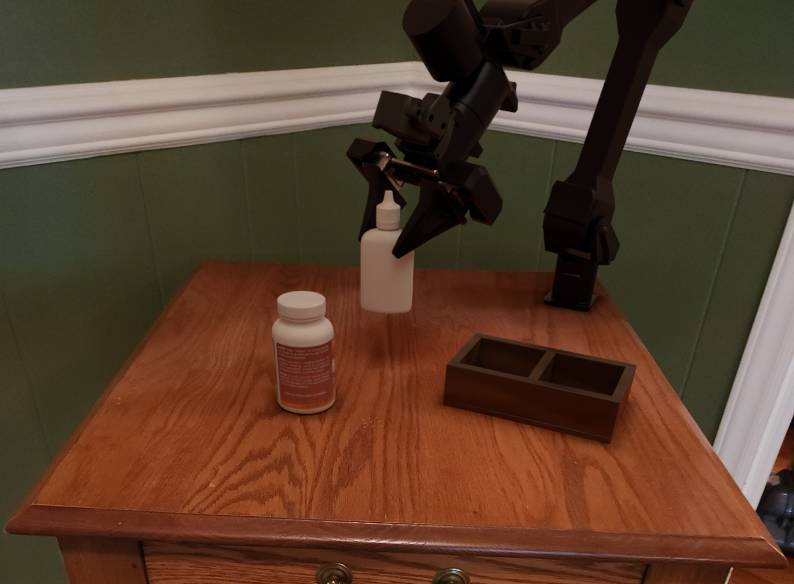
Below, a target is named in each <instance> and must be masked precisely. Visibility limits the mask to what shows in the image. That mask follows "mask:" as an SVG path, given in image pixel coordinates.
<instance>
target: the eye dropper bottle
mask: <svg viewBox="0 0 794 584" xmlns="http://www.w3.org/2000/svg"><path fill="white" fill-rule="evenodd" d="M376 226H377V228H375V229H371V230H369V231H367V232H366V233H365V234H364V235H363V237H362V239H361V243H360V307H361V309H362V310H364V311H367V312H371V313H377V314H387V315H397V314H398V315H399V314H405V313H408V312H410V311H411V309H412V306H413V293H414V291H413V289H414V272H415V271H414V270H415V269H414V268H415V249H414V250H413V251H411V252H410V253H408V254H406V255H405V256H403V257H401V258H400V259H397V258H395V257H394V256H393V254H392V250H393V247H394V245H395V243H396V241H397V239H398V237H399V235H400V234H401V232H402V230H403V229H401V228H400V227H401V211H400V206H399V205H398V204H396V203H395V202H394V200H393V193H392V191H385V196H384V200H383V202H382V203H381V204H378V205H377V210H376Z"/></svg>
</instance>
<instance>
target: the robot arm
mask: <svg viewBox="0 0 794 584" xmlns="http://www.w3.org/2000/svg"><path fill="white" fill-rule="evenodd" d="M598 1H599V0H487V1H486V2H485V3H484V4H483V5H481V8H480V9H479V10H478V7H477V6H476V4H475V2H474V0H411V1H410V2H409V4H408V5H407V6H406V9H405V11H404V12H403V16H402V20H401V26H402V30H403V32H404V34H405V35H406V37H407V38H408V40H409V42H410V43H411V45H412V47H413V48H414V50H415V52H416V53H417V55H418V57H419V58H420V60H421V62H422V63H423V65H424V67H425V69H426V70H427V71H428V73H429V75H430V77H431V78H432V80H433V81H435V82H437V83H447V84H446V86H445V87H444V89H443V91H442V93H441V94H439V93H434V92H426V93H425V94H424V95H423V97H422V98H420V97H415V96H412V95H409V94H406V93H400V92H395V91H390V90H386V89H385V90H384V89H382V90H381V92H380V93H379V98H378V101H377V104H376V108H375V111H374V114H373V117H372V121H371V123H370V124H371V127H372V128H374V129H375V130H382V131H384V132H385V133H387V134H388V135H391V136H392V137H394V138H396V139H395V140H394V142H393V145H394V146H395V148H396V149H397V150H398V152H400V153H402V154H403V158H402V159H403V160H402V159H399V158H398V156H396V154H395V152H394V151H393V150H392V149H391V147H390V146H389V144H388V143H387V142H386V141H385V140H383V139H378V138H374V137H370V136H365V135H364V136H363V135H362V136H356V137H354V139H353V141H352V143H351V144H350V145H349V147H348V149H347V150H346V152H345V156H346V157H347V158H348V160H349V161H350V162H351V163H352V165H353V166H354V167H355V169H356V170H357V171H358V172H359V174H361V176H362V177H363V178H364V179H365V181H366V182H367V184H368V193H367V199H366V204H365V208H364V212H363V217H362V221H361V225H360V229H359V233H358V236H357V240H358V242H359V243H360V244H361V239H362V237H363V235H364V234H365V233H366V232H367V231H369V230H371V229H375V228H377V226H376V210H377V205H378V204H381V203H382V202H383V200H384V196H385V191H392V193H393V200H394V202H395V203H396V204H398V205H399V206H400V212H401V211H402V210H403V209H404V208H405V207H406V206H407V205H408V201H406V199H405V198H404V197H403V196H402V194H401V193H400V191H402V188H403V187H404V185H405V184H408V185H412V186H414V187H419V193H418V194H419V195H418V202H417V204H416V205H415V207H414V209H413V211H412V213H411V214H410V216H409V218H408V220H407V221H406V224H404V227H403V228H402V229H401V230H402V232H401V234H400V235H399V237H398V239H397V241H396V243H395V245H394V247H393V250H392V254H393V256H394V257H395V258H397V259H400V258H401V257H403V256H405V255H406V254H408V253H410V252H411V251H413V250H414V251H415V250H416V249H417V248H419V247H421V246H423V245H424V244H426V243H427V242H429V241H431V240H433V239H434V238H436V237H438V236H439V235H441V234H443V233H445V232H448V231H449V230H451V229H453V228H455V227H457V226H459V225H460V226H465V225H466V224H467V223H468V219H467V217H466V215H467V213H468V212H469V217H470V219H471V220H472V221H473V222H476V223H479V224H482V225H485V226H489V227H492V226H493V225H494V223H495V222H496V220H497V219H498V217H499V216H500V214H501V213H502V211H503V205H504V196H503V194H502V193H501V191H500V190H499V187H498V186H497V185H496V182H495V181H494V179H493V178H492V176H491V175H490V173H489V171H488V169H487V168H486V166H485V165H481V164H476V163H473V162H469V161H468V160H469V159H470V158H474V159H479V158H480V157H481V155H482V154H483V152H484V148H483V146H482V145H481V143H480V141H481V140H482V138H483V137H484V135H485V133H486V131H487V130H488V129H489V127H490V126H491V124H492V122H493V121H494V119H495V117H496V116H497V114H498V113H499V111H502V112H506V113H507V112H508V113H511V114H515V113H517V112H518V110H519V98H518V96H517V94H518V93H517V87H518V84H517V82H516V81H511V80H510V79H509V78H508V76H507V73H506V71H505V70H504V68H506V69H514V70H522V71H527V72H532V71H534V70H536V69H538V68H539V67H540V66H541V65H543V63H544V62H545V61H546V60H548V58H549V57H550V56H551V55H552V54H553V52H554V51H555V50H556V49H557V48H558V46H559V45H560V44H561V41H562V36H563V31H564V29H565V28H567V26H568V25H569V24H570V23H571V22H572V21H574V20H575V19H576V18H577V17H579V16H580V15H581V14H583V13H584V12H585V11H587V10H588V9H590V7H592V6H593V5H594V4H596V3H597V2H598ZM694 2H695V0H616V3H615V8H614V16H615V23H616V31H617V37H618V38H617V43H616V46H615V49H614V52H613V55H612V58H611V61H610V64H609V67H608V70H607V73H606V75H605V78H604V82H603V84H602V87H601V91H600V94H599V97H598V100H597V103H596V106H595V109H594V111H593V114H592V117H591V121H590V123H589V127H588V129H587V132H586V136H585V138H584V140H583V144H582V147H581V149H580V152H579V156H578V159H577V162H576V165H575V168H574V169H573V171H572V172H571V173H570V174H569V175H568V176H567V177H566V178H565V179H564V180H558V179H557V180H555V181H554V183H553V184H552V186H551V189H550V194H549V197H548V201H547V203H546V205H545V207H544V209H543V210H542V214H544V215H543V218H542V230H543V245H544V251H545V252H547V253H549V252H550V253H552V254H556V255H557V257H556V264H555V268H554V269H555V270H554V275H553V281H552V287H551V289H550V291H548V293H547V294H546V295H545V297H544V298H543V303H544V304H549V305H553V306H560V307H565V308H571V309H576V310H582V311H590V310H591V308H592V307H593V306H594V304H595V302H596V301H597V300H598V298H599V293H597V292H594V291H595V286H596V281H597V277H598V276H597V275H598V272H599V267H600V266H610V265H611V262H614V261H615V259H616V257H617V254H618V252H619V250H620V247H621V242H620V240H619V238H618V235H617V234H616V232H615V229H614V227H613V225H612V221H613V217H614V214H615V211H616V201H615V193H614V192H615V191H614V186H613V179H614V176H615V173H616V172H617V171H616V170H617V168H618V165H619V162H620V160H621V157H622V154H623V151H624V149H625V146H626V143H627V141H628V138H629V134H630V132H631V128H632V126H633V124H634V121H635V118H636V115H637V112H638V109H639V107H640V104H641V101H642V98H643V95H644V93H645V90H646V87H647V85H648V82H649V79H650V76H651V74H652V71H653V67H654V65H655V62H656V59H657V56H658V54H659V52H660V51H661V49H663V47H664V46H665V45H666V44H667V43H668V42H670V40H671V39H673V37H674V36H676V34H677V33H678V32H679V31H680V30H681V28H682V27H683V25H684V22H685V21H686V18H687V16H688V14H689V12H690V9H691V7H692V5H693V4H694Z"/></svg>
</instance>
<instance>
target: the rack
mask: <svg viewBox="0 0 794 584" xmlns="http://www.w3.org/2000/svg"><path fill="white" fill-rule="evenodd" d="M636 370H637V364H633V363H629V362H624V361H618V360H614V359H609V358H603V357H599V356H595V355H588V354H584V353H580V352H575V351H569V350H564V349H559V348H554V347H549V346H544V345H540V344H534V343H529V342H525V341H521V340H520V341H519V340H514V339H509V338H504V337H500V336H495V335H490V334H484V333H479V332H475V333H474V334H473V335H472V337H470V338H469V339H468V340H467V342H466V343H465V344H464V345H463V346H462V347H461V348H460V349H459V350H458V351H457V352H456V353H455V354H454V355H453V356H452V358H451V359H449V361H448V362H447V363H446V365H445V378H444V390H443V400H442V405H445V406H449V407H453V408H457V409H461V410H466V411H470V412H474V413H478V414H482V415H486V416H487V415H488V416H491V417H495V418H499V419H504V420H508V421H512V422H516V423H520V424H525V425H530V426H533V427H538V428H542V429H545V430H550V431H553V432H558V433H561V434H562V433H563V434H566V435H571V436H576V437H580V438H584V439H588V440H592V441H596V442H601V443H605V444H611V442H612V440H613V437H614V435H615V433H616V431H617V428H618V426H619V423H620V422H621V420H622V419H621V418H622V416H623V415H624V411H625V409H626V407H627V404H628V401H629V397H630V395H631V394H630V393H631V389H632V385H633V382H634V378H635V375H636Z"/></svg>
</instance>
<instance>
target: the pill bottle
mask: <svg viewBox="0 0 794 584" xmlns="http://www.w3.org/2000/svg"><path fill="white" fill-rule="evenodd" d="M326 302H327V301H326V298H325V296H324V294H321V293H319V292H315V291H309V290H296V291H288V292H286V293H282V294H281V295H279V296H278V297H277V299H276V307H277V309H276V310H277V313H278V316H279V318H277V319H276V320H275V321H274V323H273V324H272V327H271V341H272V342H271V344H272V354H273V355H272V356H273V368H274V381H275V392H276V401H277V403H278V405H279V406H280V407H281V408H282V409H283V410H285V411H288V412H291V413H295V414H302V415H311V414H317V413H321V412H323V411H326V410H327V409H329V408H330V407H332V406H333V404H334V403H335V401H336V369H335V366H336V365H335V331H334V326H333V323H332V322H331V321H330V319H328V318H327V317H325V316H326V312H327V304H326Z"/></svg>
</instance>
